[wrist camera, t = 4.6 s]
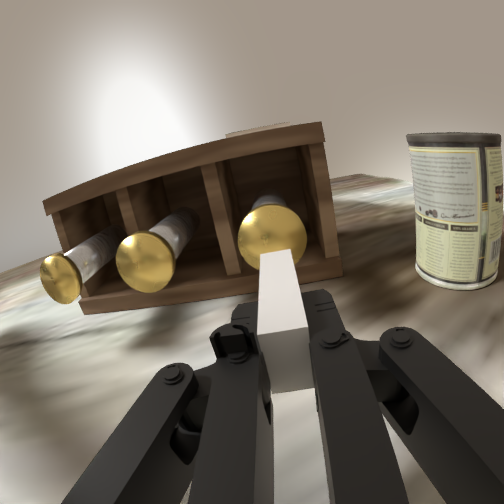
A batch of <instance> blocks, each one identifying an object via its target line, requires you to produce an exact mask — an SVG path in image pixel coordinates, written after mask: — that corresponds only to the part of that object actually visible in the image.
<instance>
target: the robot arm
mask: <svg viewBox="0 0 504 504" xmlns="http://www.w3.org/2000/svg"><path fill="white" fill-rule="evenodd" d="M209 338H210V341H211V344H212V347H213V349H214V352H215V355H216V358H217V360H216V363H214V364H212V365H210V366H208V367H205V368H202V369H198V370H195V371H193V369H192V368H191V367H190V366H189V365H188V364H184V363H173V364H170V365H167V366H165V367H163V368H162V369H160V370H159V371H158V372H157V373H156V375H155V376H154V377H153V379H152V380H151V381H150V383H149V384H148V385H147V387H146V388H145V389H144V391H143V392H142V393H141V395H140V396H139V398H138V399H137V400H136V402H135V403H134V404H133V406H132V407H131V408H130V410H129V411H128V412H127V414H126V415H125V417H124V418H123V419H122V421H121V422H120V423H119V425H118V426H117V427H116V429H115V430H114V432H113V433H112V434H111V436H110V437H109V438H108V440H107V441H106V442H105V444H104V445H103V447H102V448H101V449H100V451H99V452H98V453H97V455H96V456H95V458H94V459H93V460H92V462H91V463H90V464H89V466H88V467H87V468H86V470H85V471H84V473H83V474H82V475H81V477H80V478H79V479H78V481H77V482H76V484H75V485H74V486H73V488H72V489H71V490H70V492H69V493H68V495H67V496H66V497H65V499H64V500H63V502H62V503H61V504H180V502H181V500H182V498H183V496H184V494H185V493H186V491H187V489H188V487H189V485H190V483H191V481H192V484H191V489H190V495H189V500H188V504H274V439H273V404H272V400H271V391H272V394H276V393H283V392H290V391H297V390H303V389H309V388H315V396H316V406H317V412H318V416H319V423H320V430H321V437H322V444H323V451H324V458H325V466H326V474H327V482H328V490H329V499H330V504H409V502H408V498H407V494H406V490H405V487H404V483H403V480H402V476H401V473H400V469H399V466H398V462H397V459H396V456H395V453H394V449H393V446H392V443H391V440H390V437H389V434H388V431H387V428H386V425H385V422H384V419H383V416H382V414H383V415H384V417H385V418H386V419H387V421H388V422H389V424H390V425H391V426H392V428H393V429H394V430H395V432H396V433H397V435H398V436H399V437H400V439H401V440H402V442H403V443H404V444H405V446H406V447H407V449H408V450H409V451H410V453H411V454H412V456H413V457H414V458H415V460H416V461H417V463H418V464H419V465H420V467H421V468H422V470H423V471H424V472H425V474H426V475H427V477H428V478H429V479H430V481H431V482H432V484H433V485H434V486H435V488H436V489H437V491H438V492H439V494H440V495H441V496H442V498H443V499H444V501H445V502H446V504H504V409H503V408H502V407H501V406H500V405H499V404H498V403H497V402H496V401H494V400H493V399H492V398H491V397H490V396H489V395H488V394H487V393H486V392H485V391H484V390H483V389H482V388H481V387H479V386H478V385H477V384H476V383H475V382H474V381H473V380H472V379H471V378H470V377H469V376H467V375H466V374H465V373H464V372H463V371H462V370H461V369H460V368H459V367H457V366H456V365H455V364H454V363H453V362H452V361H451V360H450V359H448V358H447V357H446V356H445V355H444V354H443V353H442V352H440V351H439V350H438V349H437V348H436V347H435V346H434V345H432V344H431V343H430V342H429V341H428V340H427V339H425V338H424V337H423V336H422V335H421V334H419V333H418V332H417V331H415V330H413V329H412V328H407V327H395V328H391V329H388V330H387V331H385V332H384V333H383V334H382V335H381V337H380V341H364V340H359V339H355V338H353V336H352V335H351V334H350V332H348V331H346V330H345V328H344V325H343V323H342V320H341V318H340V315H339V313H338V310H337V309H336V305H335V303H334V300H333V298H332V295H331V294H330V293H329V292H327V291H326V290H324V289H321V290H315V291H310V292H304V293H300V288H299V284H298V280H297V275H296V271H295V267H294V263H293V259H292V254H291V250H290V249H287V250H281V251H276V252H270V253H265V254H260V276H259V301H257V302H250V303H244V304H239V305H238V306H237V307H236V308H235V309H234V311H233V312H232V317H231V323H229V324H225V325H223V326H221V327H219V328H217V329H216V330H215V331H213V332H212V334H211V336H210V337H209ZM270 387H271V388H270Z"/></svg>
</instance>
